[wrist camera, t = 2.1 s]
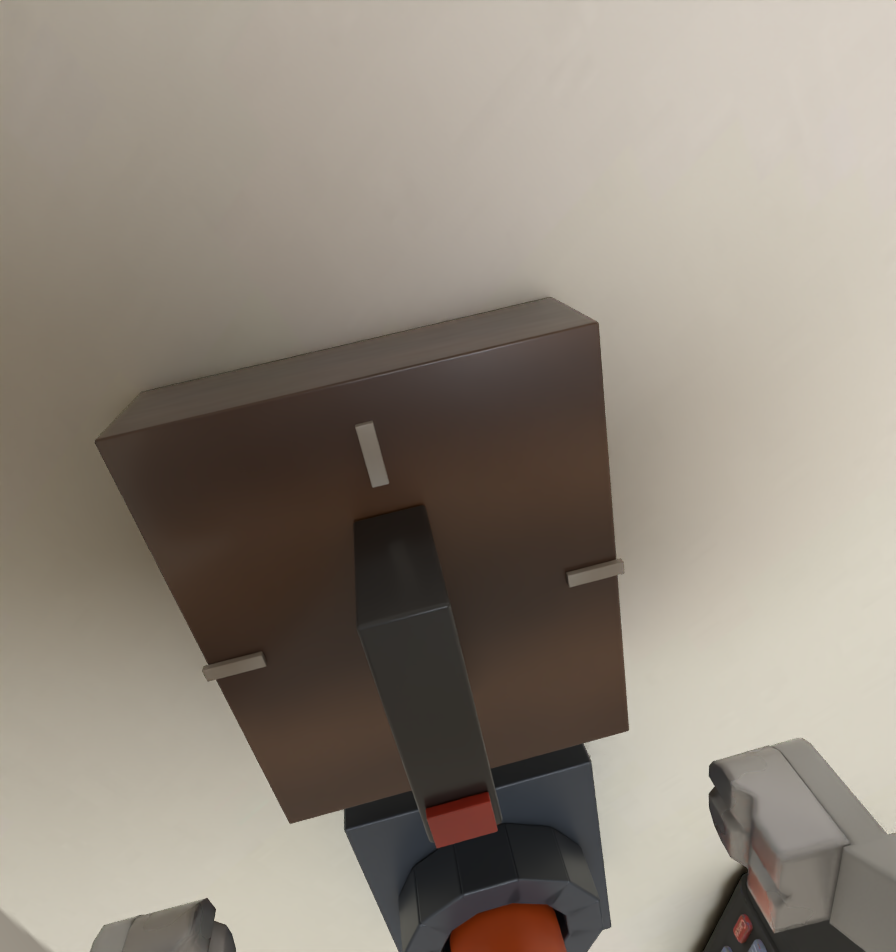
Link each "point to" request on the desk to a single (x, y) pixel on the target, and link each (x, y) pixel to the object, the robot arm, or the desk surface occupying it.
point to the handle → (422, 675)
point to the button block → (491, 856)
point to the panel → (377, 493)
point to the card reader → (770, 931)
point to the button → (510, 930)
